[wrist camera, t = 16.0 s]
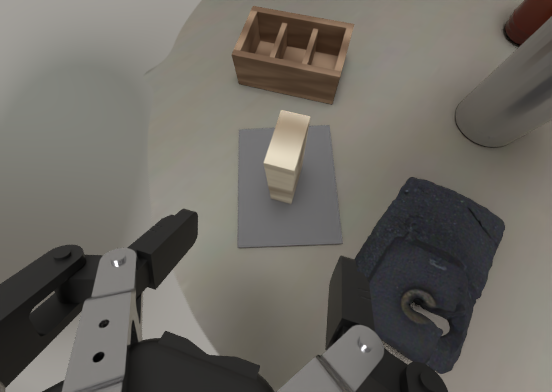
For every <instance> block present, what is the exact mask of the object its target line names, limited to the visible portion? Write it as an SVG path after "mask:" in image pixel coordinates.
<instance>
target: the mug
mask: <svg viewBox="0 0 552 392" xmlns="http://www.w3.org/2000/svg"><path fill="white" fill-rule="evenodd" d="M550 17H552V0H524V1H523V2H522V3H521V4H520V6H519V7H517V8H516V9H515V11H514V13H513V14H512V15H511V16H510V18H509V20H508V21H507V23H506V26H505V30H506V34H507V36H508V37H509V39H510V40H511V41H513V42H514V43H516V44H518V45H522V44H523V43H524V42H525V41H526V40H527V39H528V38H529V37H530V36H531V35H532V34H534V33H535V32H536V31H537V30H538V29H539V28H540V27H541V26H542V25H543V24H544V23H545V22H546V21H547V20H548V19H549V18H550Z"/></svg>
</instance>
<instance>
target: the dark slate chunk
mask: <svg viewBox="0 0 552 392" xmlns="http://www.w3.org/2000/svg"><path fill="white" fill-rule="evenodd" d="M504 230H505V225H504V222H503V221H502V220H501V219H500V218H499V217H497V216H496V215H495V214H493V213H492V212H490V211H489V210H488V209H487V208H485V207H483V206H481V205H479V204H477V203H475V202H474V201H473V200H471V199H469V198H467V197H465V196H463V195H461V194H458V193H457V192H455V191H453V190H450V189H447V188H444V187H442V186H438V185H435V184H434V183H432V182H430V181H427V180H423V179H417V178H414V177H411V178H409V179H408V181H406V184H405V185H404V186H403V187H402V188H401V189H400V192H399V194H398V196H397V198H396V199H395V200H394V201H393V202H392V204H391V205H390V206H389V207H388V209H387V211H386V212H385V213H384V214H383V216H382V217H381V219H380V220H379V221H378V222H377V225H376V226H375V227H374V229H373V231H372V233H371V235H370V236H369V237H368V239H367V241H366V242H365V243H364V244H363V246H362V248H361V250H360V252H359V253H358V254H357V256H356V258H355V260H356V269H357V271H358V272H362V273H364V274H365V276H366V278H367V280H368V282H369V287H370V295H371V303H372V311H373V319H374V327H375V333H376V334H377V335H378V336H379V338H380V339H381V340H382V341H384V342H386V343H387V344H389V345H390V346H391V347H393V348H395V349H396V350H397V351H399V352H400V353H401V354H403V355H404V356H405V357H407V358H408V359H410V360H411V361H413V362H421V363H423V364H426V365H428V366H429V367H431V368H432V369H433V370H436V371H437V372H438V373H440V374H443V373H446V372H448V371H450V370H452V368H453V366H454V363H455V362H456V361H457V360H458V358H459V356H460V353H461V348H462V346H463V343H464V341H465V338H466V335H467V329H468V327H469V323H470V320H471V317H472V312H473V306H474V304H475V303H476V299H478V298H480V297H481V292H482V290H483V289H484V287H485V284H486V282H487V278H488V272H489V270H490V268H491V266H492V262H493V261H492V260H493V257H494V255H495V252H496V249H497V248H498V246H499V243H500V241H501V239H502V237H503V231H504ZM412 302H415V303H416V304H418V305H420V306H421V307H422V308H423V309H425V310H427V311H429V312H431V313H434V314H437V315H439V316H442V317H443V318H445V319H447V320H448V321H449V325H450V331H449V332H448V333H447V334H446V335H444V336H441V335H442V333H443V331H442V329H440V328H438V327H436V325H435V323H434V322H432V321H431V320H430V319H428V318H427V317H426V316H424V315H423V314H420V313H418V312H415V311H414V310H413V309H412V308H411V307H410V306H409V305H411V304H412Z"/></svg>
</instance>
